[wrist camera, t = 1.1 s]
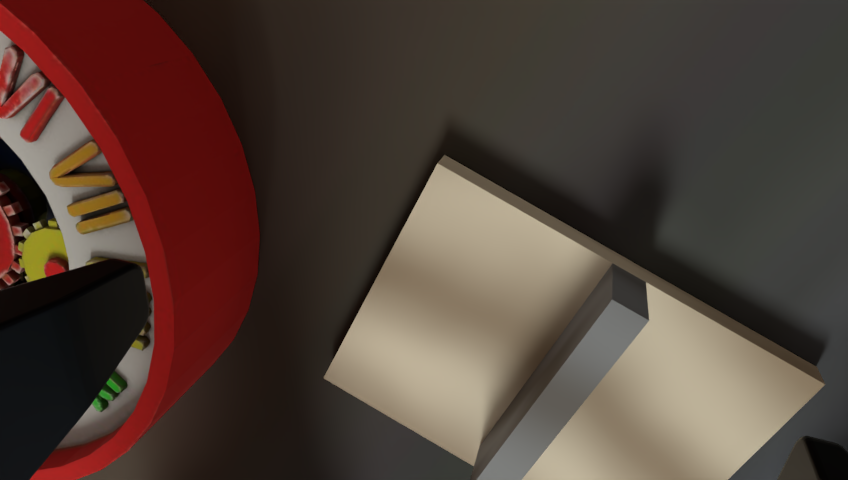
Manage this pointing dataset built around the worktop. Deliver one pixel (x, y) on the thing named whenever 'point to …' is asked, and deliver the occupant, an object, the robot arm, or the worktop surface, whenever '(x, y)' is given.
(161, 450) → the worktop surface
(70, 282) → the robot arm
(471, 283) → the cleat board
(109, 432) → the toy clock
